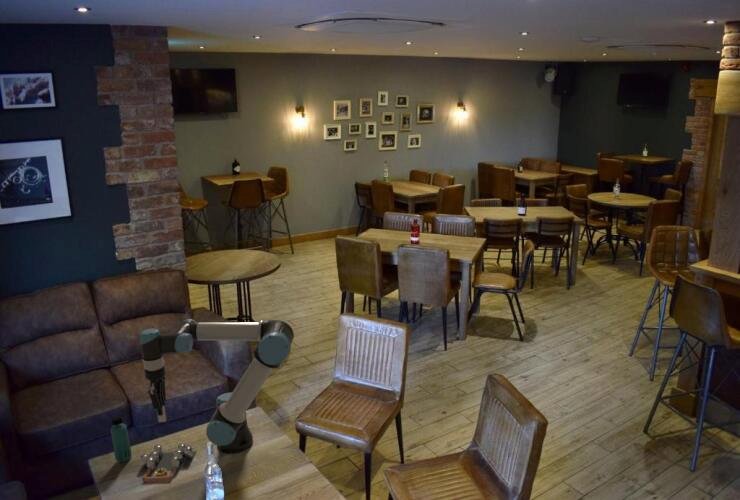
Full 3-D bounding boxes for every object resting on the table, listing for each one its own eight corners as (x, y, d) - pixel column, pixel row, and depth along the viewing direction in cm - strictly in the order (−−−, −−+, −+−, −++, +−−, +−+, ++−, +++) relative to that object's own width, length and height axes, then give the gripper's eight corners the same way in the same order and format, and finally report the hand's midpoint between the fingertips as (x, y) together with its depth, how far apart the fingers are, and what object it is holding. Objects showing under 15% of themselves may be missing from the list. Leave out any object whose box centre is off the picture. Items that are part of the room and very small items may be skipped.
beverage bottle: (126, 466, 240) (119, 422, 235) (112, 464, 241) (104, 421, 236) (135, 457, 246) (128, 414, 241) (121, 455, 247) (114, 413, 243)
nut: (165, 472, 234) (164, 466, 233) (168, 478, 230) (167, 472, 229) (155, 475, 232) (154, 469, 231) (157, 481, 228) (156, 475, 227)
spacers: (195, 453, 245) (193, 442, 244) (186, 470, 233) (185, 459, 232) (149, 455, 245) (147, 445, 244) (138, 472, 233) (137, 461, 232)
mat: (197, 453, 246) (197, 451, 246) (188, 471, 234) (187, 469, 234) (150, 455, 246) (150, 453, 246) (138, 474, 234) (138, 472, 234)
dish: (176, 472, 233) (176, 467, 233) (171, 482, 227) (170, 476, 227) (149, 474, 233) (148, 468, 233) (143, 484, 227) (142, 478, 227)
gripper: (150, 360, 236) (158, 413, 241) (138, 375, 223) (147, 430, 229) (169, 359, 236) (176, 412, 241) (158, 374, 223) (166, 429, 229)
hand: (162, 420), depth 235 cm, fingers closed
